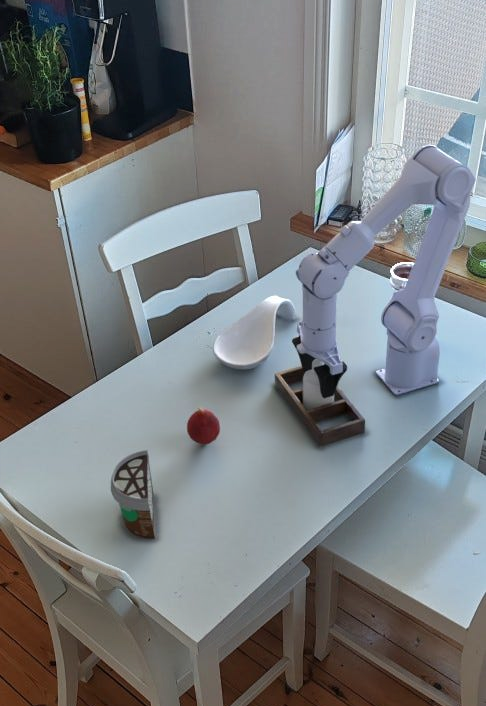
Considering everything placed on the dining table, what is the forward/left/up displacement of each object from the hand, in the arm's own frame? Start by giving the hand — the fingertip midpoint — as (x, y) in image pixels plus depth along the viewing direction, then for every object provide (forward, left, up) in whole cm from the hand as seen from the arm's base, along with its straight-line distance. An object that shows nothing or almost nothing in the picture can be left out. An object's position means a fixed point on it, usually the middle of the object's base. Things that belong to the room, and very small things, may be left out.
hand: (318, 384), depth 167 cm
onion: (+22, 0, -6) cm, 23 cm away
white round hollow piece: (-28, -18, -6) cm, 33 cm away
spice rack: (0, 0, -6) cm, 6 cm away
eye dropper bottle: (0, 0, -6) cm, 6 cm away
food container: (+39, +13, -6) cm, 42 cm away
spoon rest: (+2, -24, -6) cm, 24 cm away
